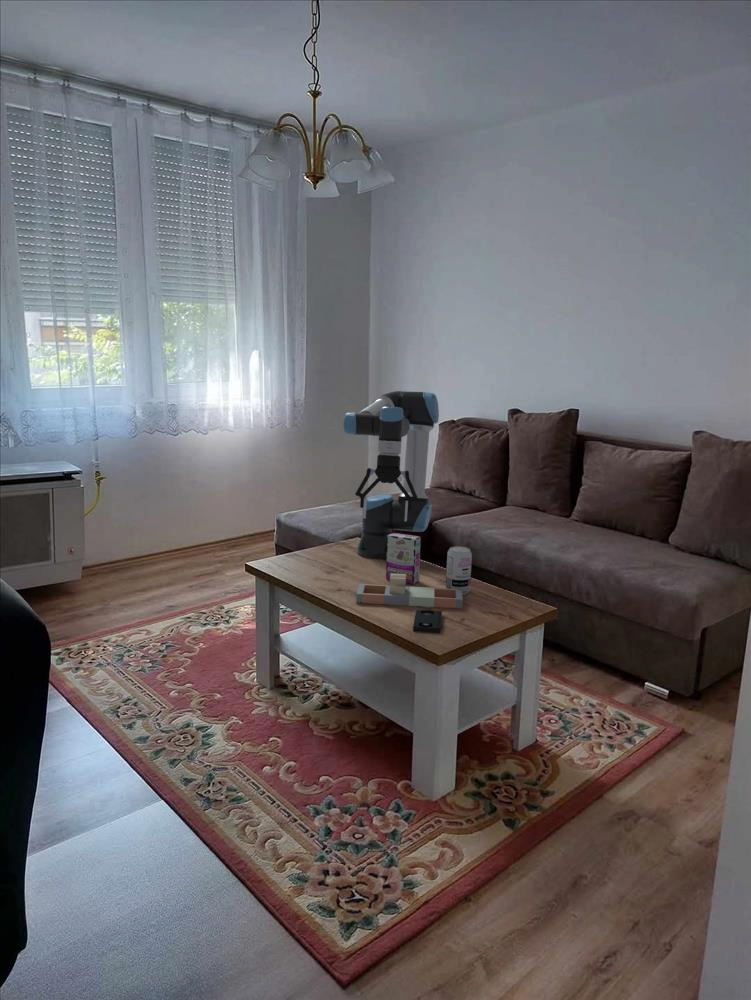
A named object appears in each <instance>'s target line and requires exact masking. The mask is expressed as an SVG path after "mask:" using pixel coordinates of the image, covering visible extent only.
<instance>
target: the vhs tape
mask: <svg viewBox="0 0 751 1000" xmlns="http://www.w3.org/2000/svg"><path fill="white" fill-rule="evenodd" d="M442 612H443V611H442V610H431V609H430V610H429V609H416V610H415V615H414V620H413V627H412V631H413V632H417V633H418V632H419V633H431V634H441V628H442V627H441V626H442V616H443V615H442V614H443V613H442Z"/></svg>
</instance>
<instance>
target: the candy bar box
mask: <svg viewBox="0 0 751 1000" xmlns="http://www.w3.org/2000/svg"><path fill="white" fill-rule="evenodd" d="M421 538H422V537H421V536H418V535H413V534H405V533H399V532H398V533H397V532H391V534H389V535H387V558H386V568H385V569H386V570H385V579H386V580H387V581H390V575H391V573H392V574H406V584H408V585H409V584H410V585H415V584H416V583H419V581H420V572H421V571H420V565H421V564H420V563H421V542H422V539H421Z"/></svg>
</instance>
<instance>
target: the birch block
mask: <svg viewBox="0 0 751 1000" xmlns="http://www.w3.org/2000/svg"><path fill="white" fill-rule="evenodd" d="M389 585H390V591H389V593H399V594H405V588H406V586H407V583H406V574H392V573H391V575H390V580H389Z"/></svg>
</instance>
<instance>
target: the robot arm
mask: <svg viewBox="0 0 751 1000" xmlns="http://www.w3.org/2000/svg"><path fill="white" fill-rule="evenodd" d="M439 411H440V410H439V403H438V397H437V395H436V394H435V393H433V392H428V391H406V390H405V391H402V390H396V391H390V392H387V393H384V394H383V393H382V394H381V395H379V396H377V397H376V398H374V399H373V400H372V402H371V404H370V405H368V406H367V407H365V408H363V409H361V411H359V412H347V413H345V415H344V417H343V424H342V426H343V431H344V433H345V434H346V435H353V436H371V437H372V436H374V437H378V442H377V445H378V446H377V453H378V454H377V455H376V457H377V458H376V459H377V460H376V468H375V469H373V468H371V467H368V468H367V470H366V473H365V476H364V478H363V479H362V481H361V483H360V484H359V486H358V488H357V490H356V492H355V496H356V497H357V496H358V497H359V499H360V501H359V502H360V503H359V504H360V505H359V506H360V508H361V509H362V521H361V522H362V524H361V525H362V527H361V529H362V531H361V532H362V533H361V536H360V539H359V542H358V545H357V551H356V552H357V554H358V555H359V556H361V557H364V558H368V559H387V535H389V534H391V533H393V532H392V531H393V530H395V531H396V530H397V531H404V532H405V531H407V532H412V533H413V532H417V533H418V532H419V533H420V532H421V533H422V532H425V530H427V529H428V526H429V523H430V520H431V515H432V508H433V507H432V506H433V505H432V502H429V496H427V495H426V491H425V490H426V480H427V478H426V477H427V467H428V466H427V465H428V453H429V452H428V451H429V441H430V440H429V439H430V432H431V431H432V430H433V429H434V427H435V424H438V422H439V417H440V416H439V415H440V414H439ZM405 436H406V445H405V456H404V457H405V460H404V470H403V471H402V470H401V456H400V455H401V454H402V439H403V437H405ZM373 474H375V476H376V479H375V480H374V481H373V482H372V483H371V484H369V486H368V487H367V488H366V489H365V490H364V491H363V489H364V487H365V485H366V483H368V480H369V479H370V476H373ZM401 475H402V477H403V483H401V481H400V480H399V479H398V478H399V477H400V476H401ZM378 483H382V484H386V483H388V484H394V483H395V485H396V487H398V489H399V490H400V491H401V493H400V494H399V495H398V498H397V499H394V497H393V495H389V494H377V495H371V496H368V497H366V496H367V495H368V494H369V493H370V492H371V491H372V490H373V489H374V488H375V486H377V485H378ZM362 491H363V492H362Z"/></svg>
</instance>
